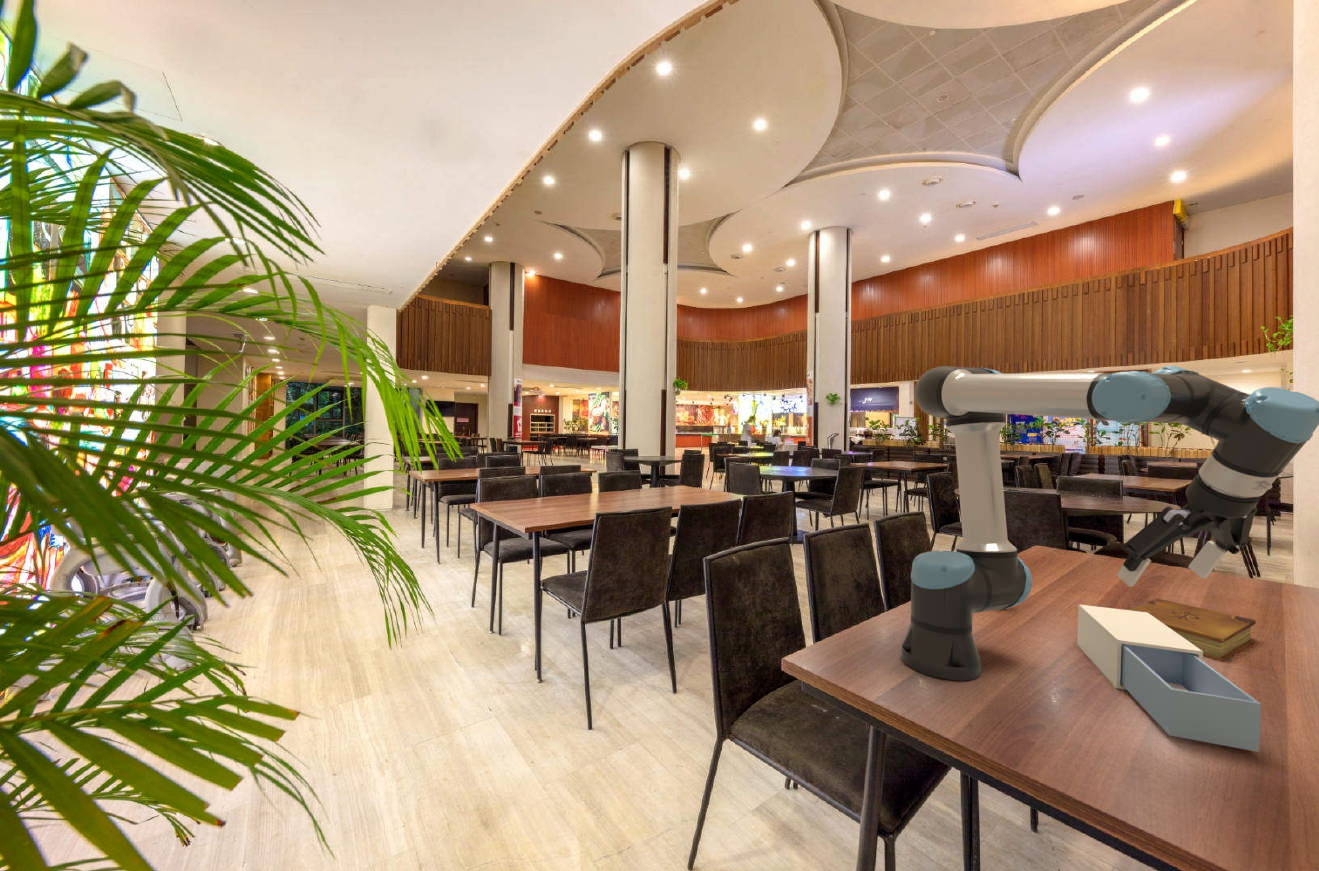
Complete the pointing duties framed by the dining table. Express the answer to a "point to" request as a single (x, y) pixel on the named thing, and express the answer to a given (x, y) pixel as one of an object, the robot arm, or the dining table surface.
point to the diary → (1203, 627)
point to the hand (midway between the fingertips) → (1160, 576)
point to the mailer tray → (1190, 697)
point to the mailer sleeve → (1123, 637)
